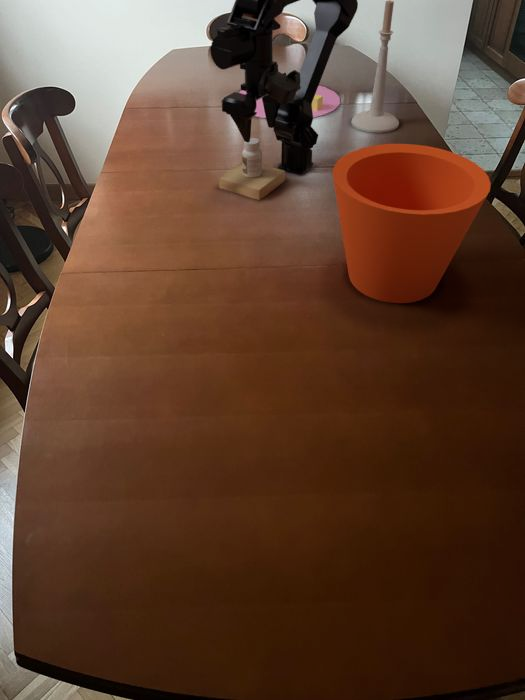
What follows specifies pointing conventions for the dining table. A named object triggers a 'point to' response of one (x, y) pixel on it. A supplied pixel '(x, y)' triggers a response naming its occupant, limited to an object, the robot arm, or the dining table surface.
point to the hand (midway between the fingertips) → (259, 134)
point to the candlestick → (379, 87)
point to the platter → (321, 103)
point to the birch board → (252, 181)
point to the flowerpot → (404, 216)
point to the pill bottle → (252, 158)
